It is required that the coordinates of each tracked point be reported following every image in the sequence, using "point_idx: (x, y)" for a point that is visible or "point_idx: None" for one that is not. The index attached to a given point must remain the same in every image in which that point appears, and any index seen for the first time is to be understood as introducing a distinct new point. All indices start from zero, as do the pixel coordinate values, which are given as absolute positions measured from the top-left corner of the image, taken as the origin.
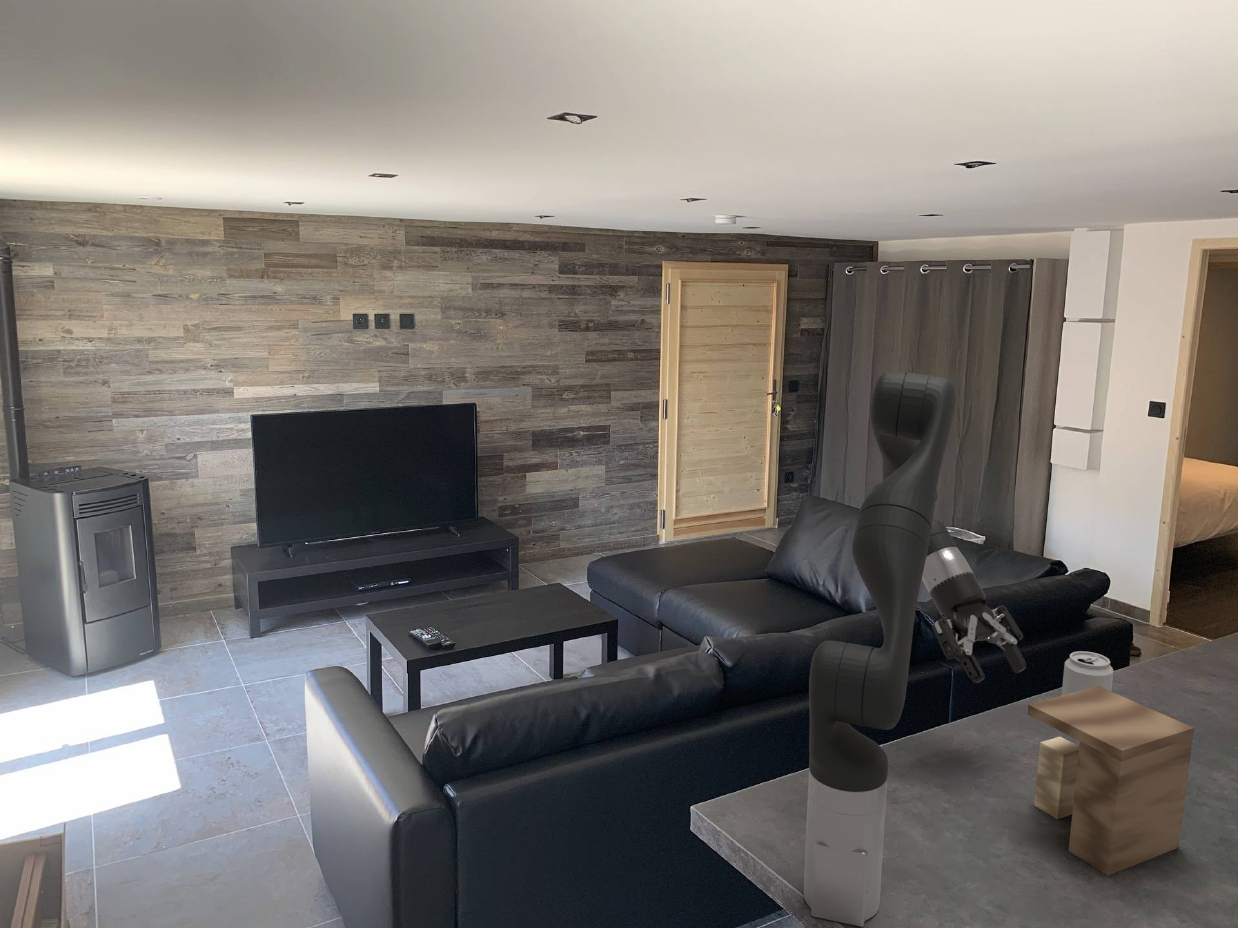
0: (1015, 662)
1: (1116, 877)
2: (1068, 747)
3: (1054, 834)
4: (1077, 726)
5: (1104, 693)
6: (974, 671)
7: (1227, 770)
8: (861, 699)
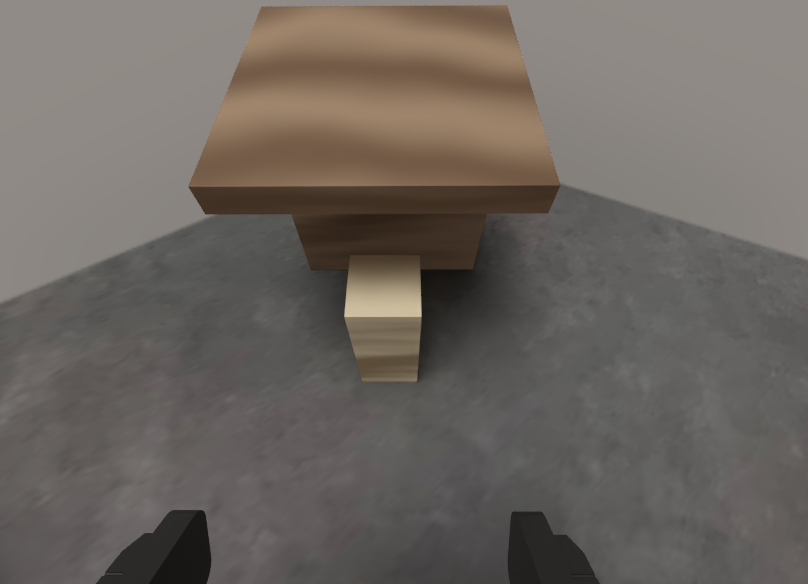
0: (179, 582)
1: None
2: (378, 271)
3: (458, 305)
4: (516, 73)
5: (239, 148)
6: (576, 565)
7: None
8: None
